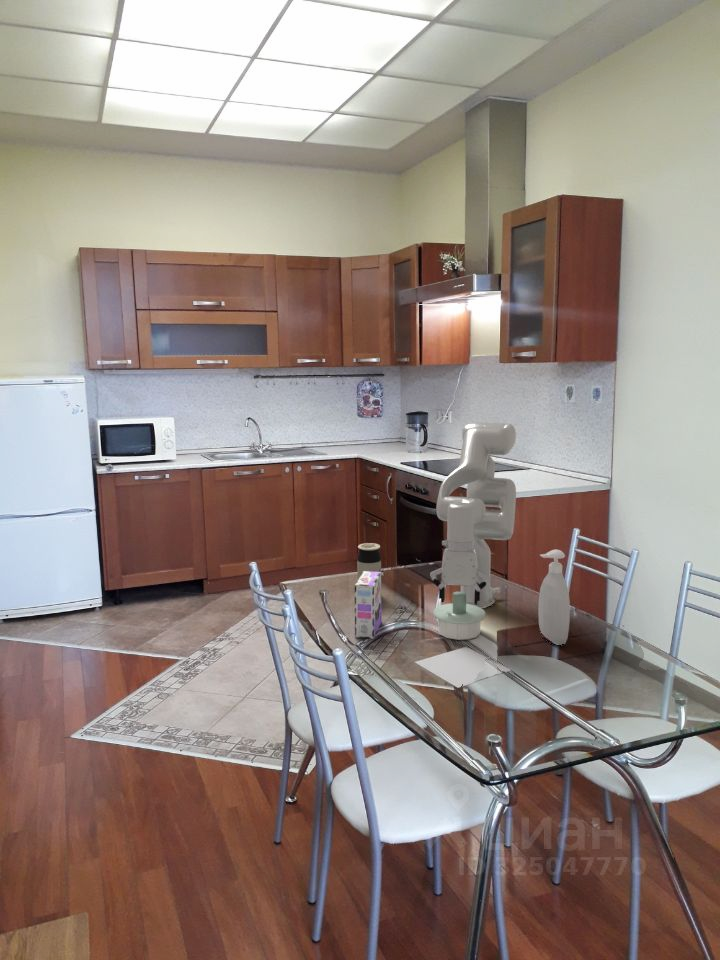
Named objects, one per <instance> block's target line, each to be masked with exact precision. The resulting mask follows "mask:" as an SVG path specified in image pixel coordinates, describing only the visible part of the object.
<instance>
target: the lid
mask: <svg viewBox="0 0 720 960" xmlns="http://www.w3.org/2000/svg"><path fill="white" fill-rule="evenodd" d="M466 595H467V594H466V593H465V592H461V591H453V592H452V603H444V604H441V605H438V606H437V607H435V608H434V609H433V617H434V618H435V619H436V620H437V621H438V620H440V621H443V622H447V623H452V624H472V623H477V622H480V623H481V622H482V621H483V620H484V619H485V618H486V611H485V609H484V608H480V607H477V606H474V605H470V604H466Z"/></svg>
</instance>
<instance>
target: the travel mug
mask: <svg viewBox="0 0 720 960" xmlns="http://www.w3.org/2000/svg"><path fill="white" fill-rule="evenodd" d="M357 548H358V553H357V556H356V557H357V559H356V561H357V562H356V563H357V566H356V568H357V569H356V570H357V580H358V579H359V578H360V576H361V575H362V573H363V571H371V572H381V573H382V555H381V553H380V548H381V545H380V544H378V543H374V542H373V543H372V542H371V543H370V542H369V543H368V542H366V543H360V544H358V546H357Z"/></svg>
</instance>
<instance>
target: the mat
mask: <svg viewBox="0 0 720 960" xmlns="http://www.w3.org/2000/svg"><path fill="white" fill-rule="evenodd" d="M485 658H486V656H485V655H482V654H481V653H480V652H477V651H475V650H473V649H471V648H469V647H468V646H463V647H460V648H457V649H454V650H450V651H447V652H443V653H441V654H437V655H433V656H430V657H427V658H423V659H420V660H417V661H414V663H415V664H417V665H418V666H420V667H422V668H423V669H425V670H427V671H429V672H430V673H432V674H433V675H435V676H437V677H438V678H441V680H444V681H445V682H447V683H449V684H450V685H452V686H454V687H455V688H457V689H460V688H462V687H465V686H468V685H471V684H475V683H474V679H476V678H477V676H478V675H477V674H479V672H481V671H483V669H484V668H485V667H484V666H485V665H486V664H485V660H486V659H485ZM497 667H498V668H499V669H500V670H501V671H505V673H507V672H511V671H512V669H510V668H508V667H506V666H504V665H502V664H500V663H498V664H497ZM462 684H463V686H462ZM461 686H462V687H461Z"/></svg>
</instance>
